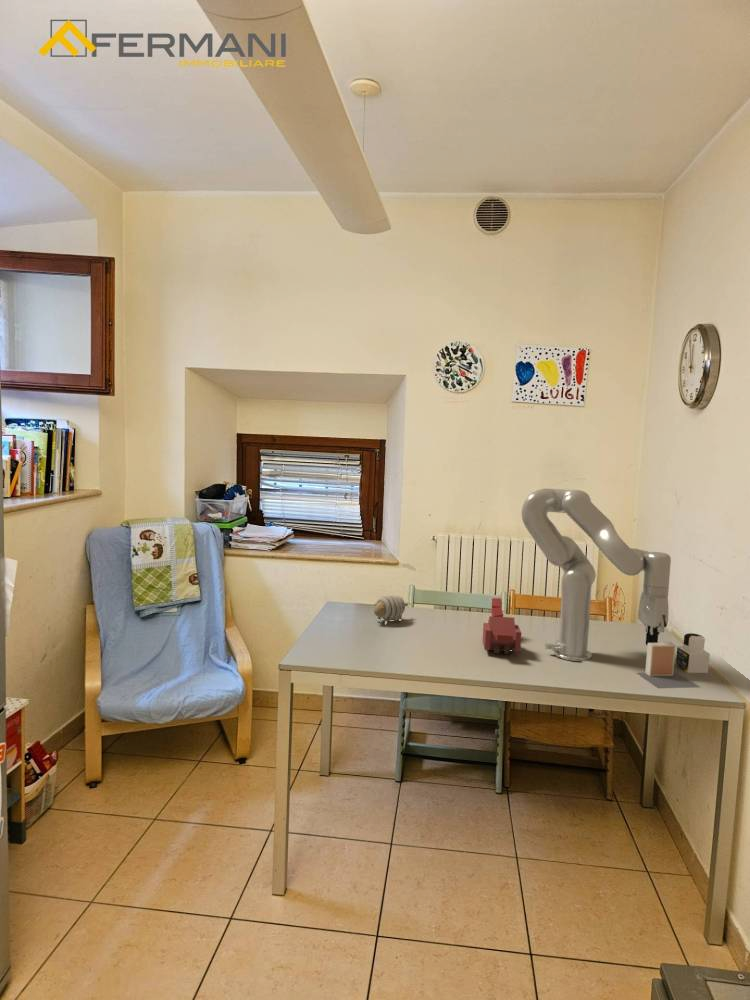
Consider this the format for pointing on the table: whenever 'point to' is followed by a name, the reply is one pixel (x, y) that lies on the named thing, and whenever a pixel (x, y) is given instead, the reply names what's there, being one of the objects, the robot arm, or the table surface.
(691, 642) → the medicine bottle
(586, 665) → the table surface
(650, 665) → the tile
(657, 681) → the mat
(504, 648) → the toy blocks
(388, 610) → the toy sheep
